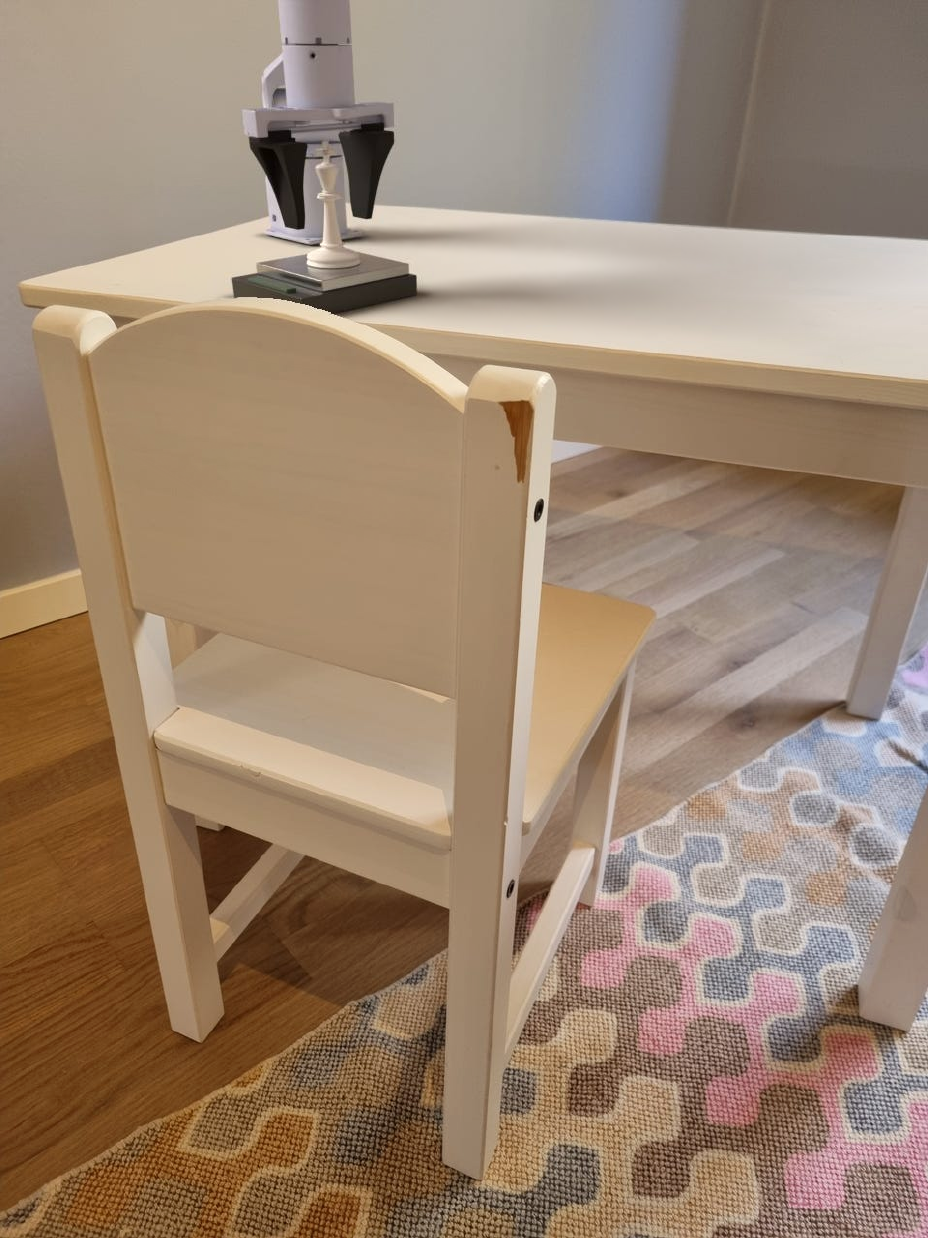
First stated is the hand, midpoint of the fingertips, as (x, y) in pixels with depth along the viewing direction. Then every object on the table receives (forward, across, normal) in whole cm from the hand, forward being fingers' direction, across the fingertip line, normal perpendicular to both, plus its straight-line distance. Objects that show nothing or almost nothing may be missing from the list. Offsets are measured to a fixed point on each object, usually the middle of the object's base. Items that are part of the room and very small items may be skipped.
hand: (329, 222), depth 83 cm
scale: (+6, -1, 0) cm, 6 cm away
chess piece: (+4, 0, 0) cm, 4 cm away
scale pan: (+5, 0, 0) cm, 5 cm away
